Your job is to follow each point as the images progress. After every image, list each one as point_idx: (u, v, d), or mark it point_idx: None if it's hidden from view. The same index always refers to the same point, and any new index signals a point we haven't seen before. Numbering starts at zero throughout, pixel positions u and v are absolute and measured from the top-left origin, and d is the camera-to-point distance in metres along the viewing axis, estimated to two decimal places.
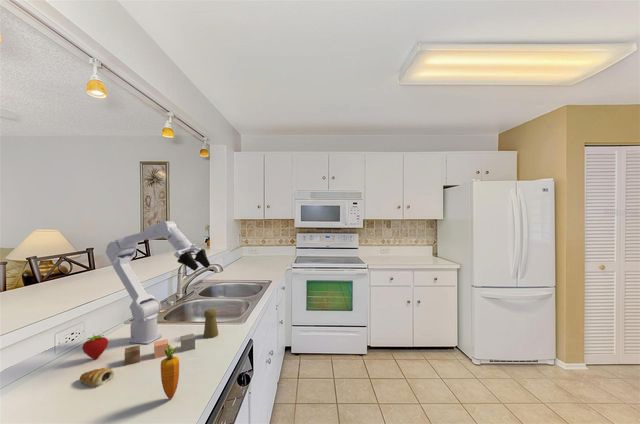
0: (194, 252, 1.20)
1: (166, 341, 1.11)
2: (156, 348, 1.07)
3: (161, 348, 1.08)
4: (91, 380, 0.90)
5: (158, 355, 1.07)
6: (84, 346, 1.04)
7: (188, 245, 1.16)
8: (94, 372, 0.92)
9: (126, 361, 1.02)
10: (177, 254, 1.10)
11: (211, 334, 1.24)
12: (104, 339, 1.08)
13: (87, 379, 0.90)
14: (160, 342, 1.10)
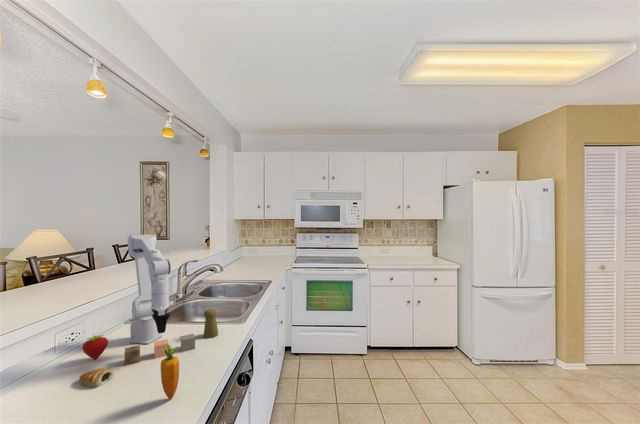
0: None
1: (166, 341, 1.11)
2: (156, 348, 1.07)
3: (161, 348, 1.08)
4: (91, 381, 0.89)
5: (158, 355, 1.07)
6: (84, 346, 1.04)
7: (168, 302, 1.10)
8: (94, 372, 0.92)
9: (126, 361, 1.02)
10: (162, 312, 1.04)
11: (211, 334, 1.24)
12: (104, 339, 1.08)
13: (87, 380, 0.90)
14: (160, 342, 1.10)
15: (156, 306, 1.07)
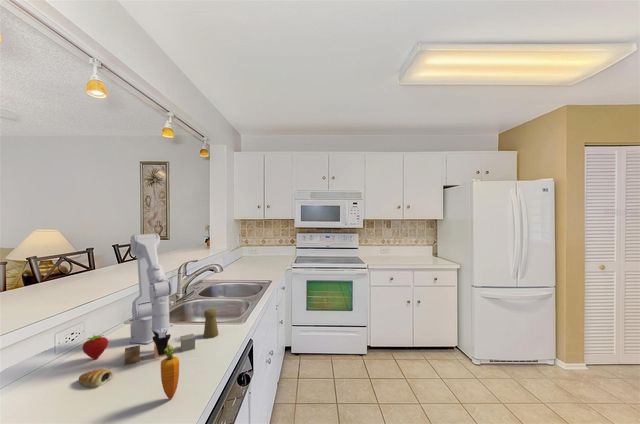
0: None
1: None
2: (156, 348, 1.07)
3: None
4: (91, 381, 0.89)
5: (158, 355, 1.07)
6: (84, 346, 1.04)
7: (168, 323, 1.10)
8: (93, 373, 0.91)
9: (126, 361, 1.02)
10: (162, 335, 1.04)
11: (211, 334, 1.24)
12: (104, 339, 1.08)
13: (86, 380, 0.90)
14: None
15: (156, 328, 1.07)
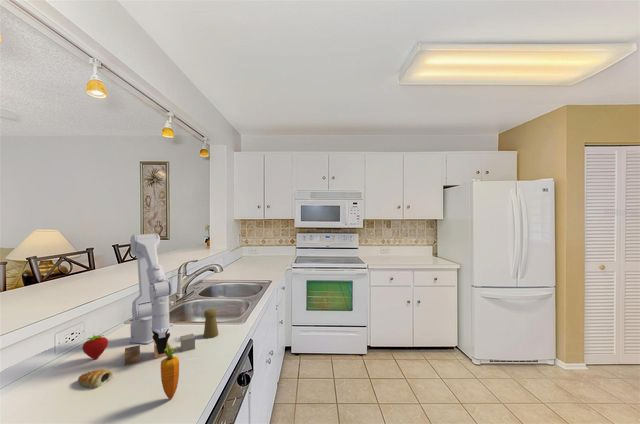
0: None
1: None
2: (156, 348, 1.07)
3: None
4: (90, 382, 0.89)
5: (158, 355, 1.07)
6: (84, 346, 1.04)
7: (168, 323, 1.10)
8: (93, 373, 0.91)
9: (126, 361, 1.02)
10: (162, 335, 1.04)
11: (211, 334, 1.24)
12: (104, 339, 1.08)
13: (86, 381, 0.90)
14: None
15: (156, 328, 1.07)
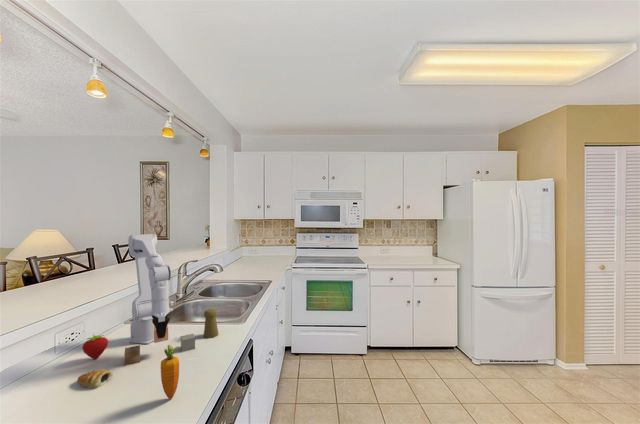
0: None
1: None
2: (156, 332, 1.07)
3: None
4: (90, 382, 0.89)
5: (158, 339, 1.07)
6: (84, 346, 1.04)
7: (168, 308, 1.10)
8: (92, 373, 0.91)
9: (126, 361, 1.02)
10: (162, 319, 1.04)
11: (211, 334, 1.24)
12: (104, 339, 1.08)
13: (85, 381, 0.89)
14: None
15: (156, 312, 1.07)
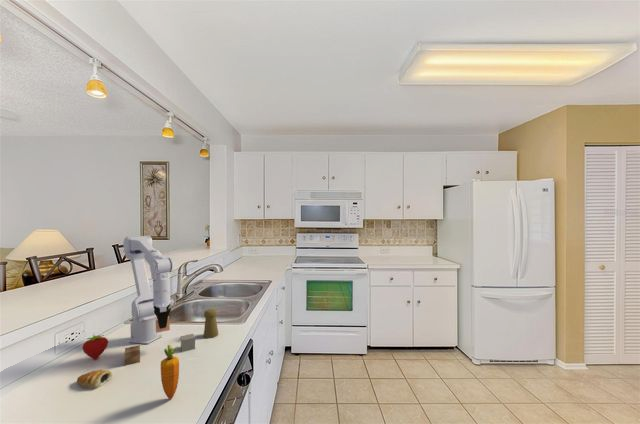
0: None
1: None
2: (157, 322, 1.10)
3: None
4: (90, 382, 0.89)
5: (159, 329, 1.11)
6: (84, 346, 1.04)
7: (169, 299, 1.13)
8: (92, 374, 0.91)
9: (126, 361, 1.02)
10: (163, 309, 1.07)
11: (211, 334, 1.24)
12: (104, 339, 1.08)
13: (85, 381, 0.89)
14: None
15: (158, 303, 1.10)
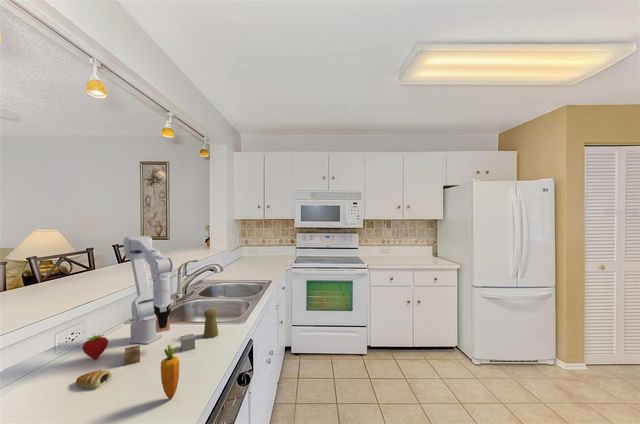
0: None
1: None
2: (157, 322, 1.10)
3: None
4: (89, 383, 0.88)
5: (159, 329, 1.11)
6: (84, 346, 1.04)
7: (169, 299, 1.13)
8: (92, 374, 0.91)
9: (126, 361, 1.02)
10: (163, 309, 1.07)
11: (211, 334, 1.24)
12: (104, 339, 1.08)
13: (85, 382, 0.89)
14: None
15: (158, 303, 1.10)
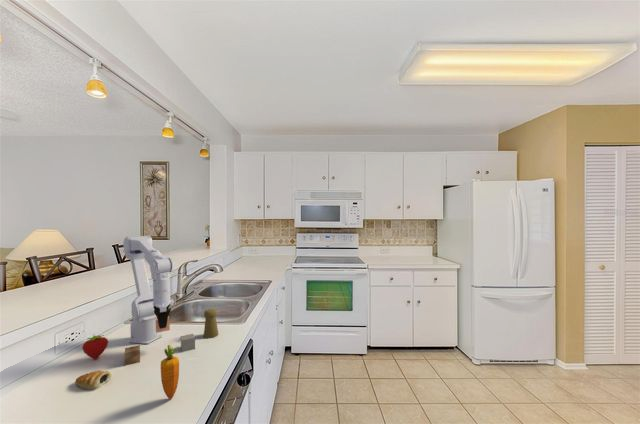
0: None
1: None
2: (157, 322, 1.10)
3: None
4: (89, 383, 0.88)
5: (159, 329, 1.11)
6: (84, 346, 1.04)
7: (169, 299, 1.13)
8: (91, 375, 0.90)
9: (126, 361, 1.02)
10: (163, 309, 1.07)
11: (211, 334, 1.24)
12: (104, 339, 1.08)
13: (84, 382, 0.89)
14: None
15: (158, 303, 1.10)
